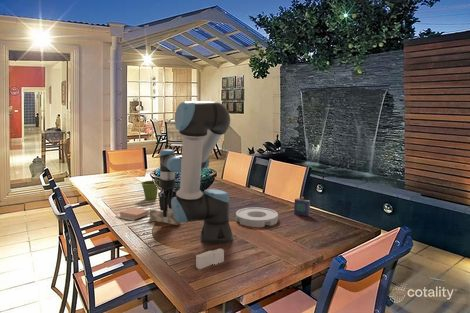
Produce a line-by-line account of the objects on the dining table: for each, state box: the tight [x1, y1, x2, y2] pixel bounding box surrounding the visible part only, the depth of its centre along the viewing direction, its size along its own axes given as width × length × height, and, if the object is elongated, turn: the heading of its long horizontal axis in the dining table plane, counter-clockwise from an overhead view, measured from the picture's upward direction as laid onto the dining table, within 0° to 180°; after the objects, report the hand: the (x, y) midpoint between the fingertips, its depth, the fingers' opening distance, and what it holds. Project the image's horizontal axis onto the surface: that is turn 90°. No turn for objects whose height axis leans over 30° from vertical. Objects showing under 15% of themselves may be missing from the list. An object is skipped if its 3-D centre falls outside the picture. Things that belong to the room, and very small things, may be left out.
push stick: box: [148, 207, 181, 226], centre depth 189 cm, size 18×3×6 cm, turn 65°
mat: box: [115, 211, 150, 221], centre depth 201 cm, size 13×16×1 cm
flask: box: [293, 196, 311, 217], centre depth 203 cm, size 9×3×11 cm, turn 61°
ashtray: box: [235, 206, 279, 228], centre depth 194 cm, size 23×23×4 cm
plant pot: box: [140, 180, 159, 201], centre depth 233 cm, size 12×12×11 cm
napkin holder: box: [195, 247, 225, 270], centre depth 139 cm, size 15×11×6 cm
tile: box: [119, 207, 150, 220], centre depth 198 cm, size 2×10×12 cm
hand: (168, 221), depth 189 cm, fingers closed on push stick, 3 cm apart
